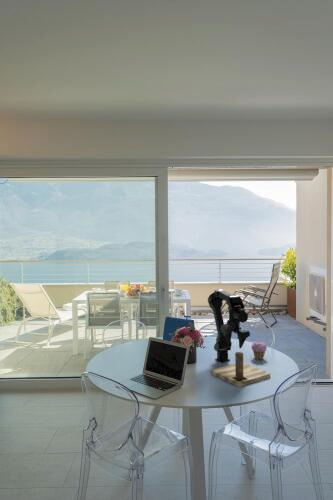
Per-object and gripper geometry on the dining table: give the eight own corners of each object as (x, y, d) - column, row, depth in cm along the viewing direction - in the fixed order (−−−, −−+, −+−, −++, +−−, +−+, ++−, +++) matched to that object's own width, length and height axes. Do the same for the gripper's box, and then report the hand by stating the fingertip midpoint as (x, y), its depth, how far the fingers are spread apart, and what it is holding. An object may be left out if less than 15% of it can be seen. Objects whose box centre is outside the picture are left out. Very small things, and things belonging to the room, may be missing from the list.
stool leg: (234, 382, 206) (233, 353, 205) (237, 380, 209) (237, 351, 208) (241, 384, 204) (241, 355, 203) (244, 381, 207) (244, 352, 206)
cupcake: (249, 356, 246) (249, 339, 246) (263, 355, 247) (263, 339, 246) (254, 361, 237) (253, 344, 237) (268, 360, 238) (268, 343, 237)
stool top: (210, 373, 219) (210, 370, 219) (241, 365, 231) (240, 361, 231) (239, 387, 200) (239, 383, 200) (270, 377, 212) (270, 373, 212)
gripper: (212, 317, 226) (212, 344, 227) (235, 323, 211) (235, 353, 212) (227, 314, 232) (227, 341, 234) (250, 320, 217) (250, 349, 218)
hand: (234, 346), depth 224 cm, fingers open, 9 cm apart
